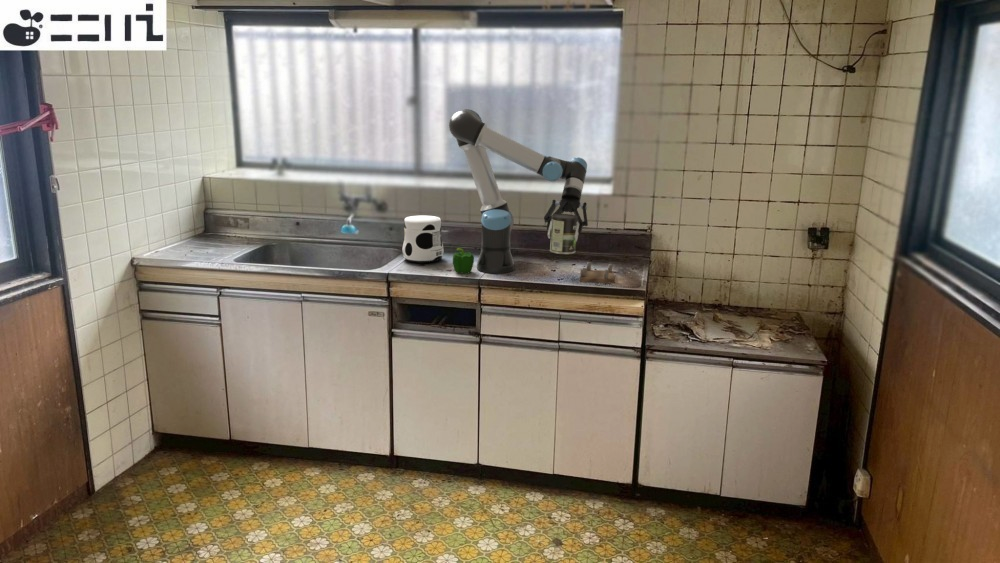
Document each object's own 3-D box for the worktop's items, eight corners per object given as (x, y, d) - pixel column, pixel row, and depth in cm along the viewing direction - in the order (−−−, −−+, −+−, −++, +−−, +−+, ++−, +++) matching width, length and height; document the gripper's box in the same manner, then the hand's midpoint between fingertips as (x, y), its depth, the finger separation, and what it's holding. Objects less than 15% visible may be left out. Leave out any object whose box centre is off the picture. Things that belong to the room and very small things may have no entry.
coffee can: (576, 249, 284) (579, 214, 280) (574, 255, 274) (576, 219, 270) (551, 247, 286) (553, 212, 282) (547, 253, 276) (549, 217, 272)
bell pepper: (476, 270, 286) (476, 246, 284) (470, 276, 279) (470, 251, 276) (456, 269, 288) (456, 245, 286) (450, 274, 281) (450, 249, 278)
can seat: (580, 281, 273) (580, 269, 272) (580, 273, 286) (580, 261, 284) (614, 283, 272) (615, 271, 271) (613, 274, 284) (613, 263, 283)
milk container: (403, 255, 309) (402, 215, 305) (443, 255, 311) (442, 214, 306) (401, 265, 293) (401, 222, 288) (444, 265, 295) (443, 222, 290)
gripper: (600, 199, 286) (591, 245, 276) (546, 195, 292) (535, 240, 282) (599, 188, 280) (590, 235, 269) (543, 184, 286) (532, 229, 275)
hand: (562, 237), depth 276 cm, fingers closed on coffee can, 10 cm apart
